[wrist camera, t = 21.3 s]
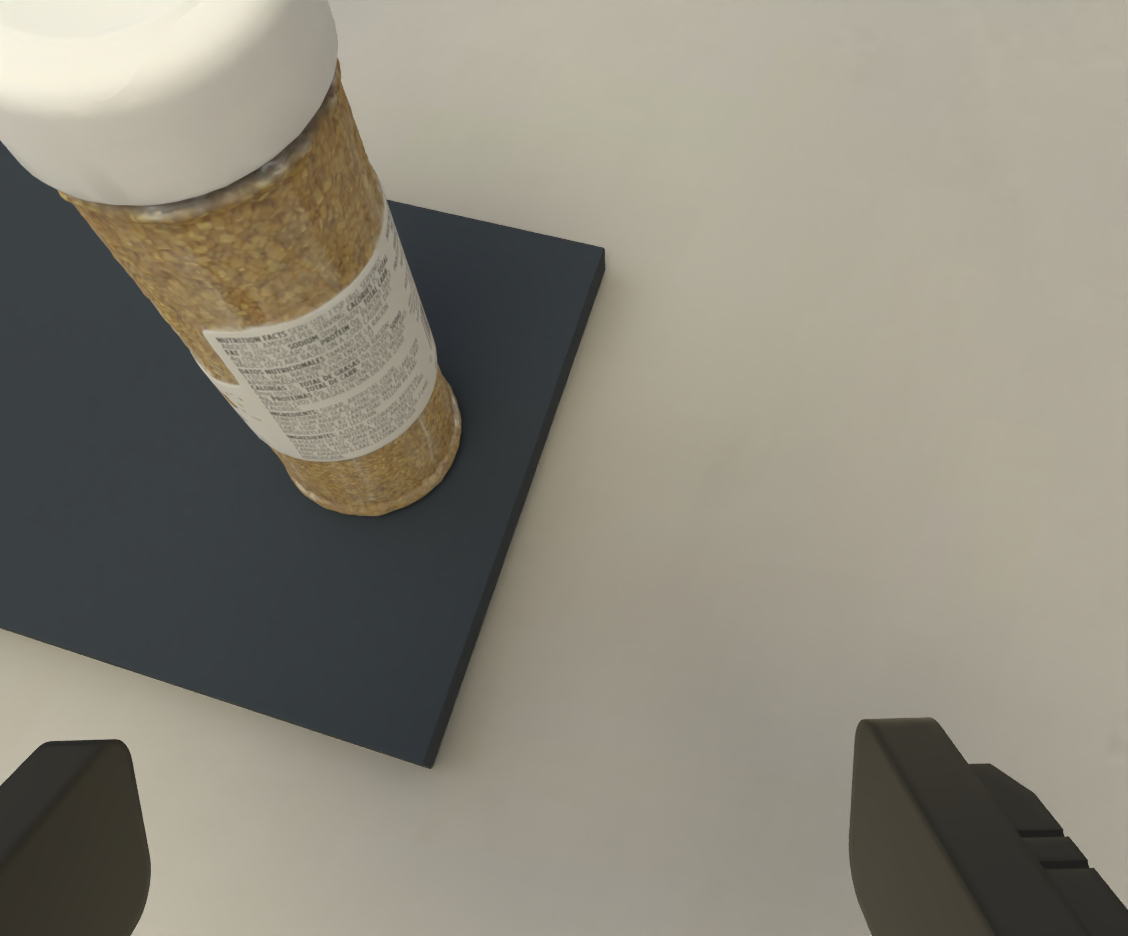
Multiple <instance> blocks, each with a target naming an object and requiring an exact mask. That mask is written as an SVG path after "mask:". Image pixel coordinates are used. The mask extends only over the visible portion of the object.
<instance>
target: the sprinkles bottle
mask: <svg viewBox="0 0 1128 936" xmlns="http://www.w3.org/2000/svg"><path fill="white" fill-rule="evenodd" d="M337 52H338V41H337V32H336V27H335V22H334V18H333V16H332V13H331V10H330V7H329V4H328V1H327V0H0V141H1V142H2V143H3V144H4V145H5V146H6V147H7V149H8V150H9V151H10V152H11V153H12V155H13V156H14V157H15V158H16V159H17V160H18V162H19V163H20V164H21V165H22V166H23V167H24V168H25V169H26V170H27V171H28V172H30V173H31V174H32V175H33V176H34V177H36V178H37V179H39V180H41V181H42V182H44V183H45V184H47V185H49V186H51V187H53V188H55V189H57V190H58V192H59V194H60V196H61V197H62V198H63V199H64V200H66V201H68V202H71V203H72V204H73V205H74V206H75V207H76V208H77V210H78V211H79V212H80V214H81V215H82V216H83V217H84V218H85V219H86V221H87V222H88V223H89V225H90V227H91V228H92V229H93V231H94V232H95V233H96V234H97V235H98V237H99V238H100V239H101V240H102V241H103V243H104V244H105V245H106V246H107V248H108V249H109V250H110V251H111V253H112V255H113V257H114V258H115V259H116V260H117V261H118V262H119V263H120V264H121V265H122V266H123V268H124V269H125V271H126V272H127V273H128V274H129V275H130V276H131V278H132V279H133V280H134V281H135V282H136V284H137V285H138V287H139V288H140V289H141V291H142V292H143V294H144V295H145V296H146V297H147V298H149V299H150V301H151V302H152V303H153V305H154V306H155V307H156V308H157V310H158V311H159V313H160V315H161V316H162V317H163V318H164V319H165V321H166V322H167V323H169V324H170V326H171V327H172V329H173V330H174V331H175V332H176V333H177V334H178V335H179V337H180V338H181V340H182V341H183V342H184V344H185V345H186V346H187V347H188V348H189V349H190V352H191V354H192V355H193V357H194V359H195V361H196V362H197V364H198V365H199V366H200V368H201V369H202V370H203V372H204V373H205V374H206V375H207V376H208V378H209V379H210V380H211V381H212V383H213V384H214V385H215V386H216V387H217V389H218V390H219V391H220V392H221V394H222V395H223V396H224V397H225V398H226V400H227V401H228V402H229V403H230V405H231V406H232V407H233V408H234V409H235V411H236V412H237V413H238V414H239V415H240V416H241V418H242V419H243V420H244V421H245V422H246V424H247V425H248V426H249V427H250V428H251V429H252V431H253V432H254V433H255V434H256V435H257V436H258V437H259V438H260V439H261V440H263V441H264V442H265V443H267V444H268V445H269V446H270V447H271V449H272V450H273V451H274V452H275V453H276V454H277V455H278V457H279V458H280V460H281V461H282V463H283V464H284V465H285V468H286V470H287V472H288V474H289V475H290V477H291V479H292V481H293V482H294V483H295V485H296V486H297V488H298V489H299V490H300V491H301V492H302V493H303V494H304V495H305V496H306V497H308V498H309V499H311V500H312V501H314V502H315V503H317V504H318V505H320V506H322V507H324V508H326V509H329V510H333V511H336V512H339V513H342V514H348V515H357V516H380V515H384V514H387V513H390V512H392V511H394V510H398V509H401V508H404V507H406V506H408V505H410V504H412V503H414V502H416V501H418V500H419V499H421V498H422V497H424V496H425V495H426V494H428V493H429V492H430V491H431V490H432V489H433V488H434V487H435V486H437V485H438V484H439V483H440V482H442V480H443V478H444V476H445V475H446V473H447V472H448V470H449V469H450V467H451V465H452V463H453V461H454V458H455V455H456V453H457V450H458V448H459V443H460V436H461V420H462V419H461V414H460V411H459V408H458V403H457V399H456V397H455V395H454V394H453V391H452V389H451V387H450V385H449V383H448V382H447V381H446V379H445V378H444V376H443V375H442V373H441V370H440V368H439V365H438V363H437V353H436V346H435V342H434V338H433V336H432V333H431V330H430V327H429V324H428V321H427V318H426V315H425V311H424V308H423V305H422V303H421V300H420V297H419V294H418V291H417V288H416V285H415V283H414V280H413V277H412V274H411V271H410V268H409V266H408V263H407V260H406V257H405V254H404V251H403V248H402V245H401V242H400V239H399V236H398V233H397V230H396V227H395V224H394V221H393V218H392V215H391V212H390V209H389V206H388V203H387V200H386V197H385V194H384V191H383V188H382V185H381V183H380V180H379V178H378V175H377V174H376V172H375V170H374V169H373V167H372V165H371V164H370V163H369V160H368V157H367V155H366V153H365V149H364V146H363V142H362V140H361V137H360V135H359V131H358V129H357V126H356V123H355V120H354V118H353V115H352V111H351V108H350V105H349V102H348V100H347V97H346V95H345V92H344V89H343V86H342V83H341V71H340V63H339V60H338V57H337Z"/></svg>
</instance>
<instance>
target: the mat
mask: <svg viewBox="0 0 1128 936" xmlns="http://www.w3.org/2000/svg"><path fill="white" fill-rule="evenodd" d="M387 203H388V206H389V209H390V212H391V215H392V218H393V221H394V224H395V227H396V230H397V233H398V236H399V239H400V242H401V245H402V248H403V251H404V254H405V257H406V260H407V263H408V266H409V268H410V271H411V274H412V277H413V280H414V283H415V285H416V288H417V291H418V294H419V297H420V300H421V303H422V305H423V308H424V311H425V315H426V318H427V321H428V324H429V327H430V330H431V333H432V336H433V338H434V342H435V346H436V353H437V363H438V365H439V368H440V370H441V373H442V375H443V376H444V378H445V379H446V381H447V382H448V383H449V385H450V387H451V389H452V391H453V394H454V395H455V397H456V399H457V403H458V408H459V411H460V414H461V419H462V420H461V436H460V443H459V448H458V450H457V453H456V455H455V458H454V461H453V463H452V465H451V467H450V469H449V470H448V472H447V473H446V475H445V476H444V478H443V480H442V482H440V483H439V484H438V485H437V486H435V487H434V488H433V489H432V490H431V491H430V492H429V493H428V494H426V495H425V496H424V497H422V498H421V499H419V500H418V501H416V502H414V503H412V504H410V505H408V506H406V507H404V508H401V509H398V510H394V511H392V512H390V513H387V514H384V515H380V516H357V515H348V514H342V513H339V512H336V511H333V510H329V509H326V508H324V507H322V506H320V505H318V504H317V503H315V502H314V501H312V500H311V499H309V498H308V497H306V496H305V495H304V494H303V493H302V492H301V491H300V490H299V489H298V488H297V486H296V485H295V483H294V482H293V481H292V479H291V477H290V475H289V474H288V472H287V470H286V468H285V465H284V464H283V463H282V461H281V460H280V458H279V457H278V455H277V454H276V453H275V452H274V451H273V450H272V449H271V447H270V446H269V445H268V444H267V443H265V442H264V441H263V440H261V439H260V438H259V437H258V436H257V435H256V434H255V433H254V432H253V431H252V429H251V428H250V427H249V426H248V425H247V424H246V422H245V421H244V420H243V419H242V418H241V416H240V415H239V414H238V413H237V412H236V411H235V409H234V408H233V407H232V406H231V405H230V403H229V402H228V401H227V400H226V398H225V397H224V396H223V395H222V394H221V392H220V391H219V390H218V389H217V387H216V386H215V385H214V384H213V383H212V381H211V380H210V379H209V378H208V376H207V375H206V374H205V373H204V372H203V370H202V369H201V368H200V366H199V365H198V364H197V362H196V361H195V359H194V357H193V355H192V354H191V352H190V349H189V348H188V347H187V346H186V345H185V344H184V342H183V341H182V340H181V338H180V337H179V335H178V334H177V333H176V332H175V331H174V330H173V329H172V327H171V326H170V324H169V323H167V322H166V321H165V319H164V318H163V317H162V316H161V315H160V313H159V311H158V310H157V308H156V307H155V306H154V305H153V303H152V302H151V301H150V299H149V298H147V297H146V296H145V295H144V294H143V292H142V291H141V289H140V288H139V287H138V285H137V284H136V282H135V281H134V280H133V279H132V278H131V276H130V275H129V274H128V273H127V272H126V271H125V269H124V268H123V266H122V265H121V264H120V263H119V262H118V261H117V260H116V259H115V258H114V257H113V255H112V253H111V251H110V250H109V249H108V248H107V246H106V245H105V244H104V243H103V241H102V240H101V239H100V238H99V237H98V235H97V234H96V233H95V232H94V231H93V229H92V228H91V227H90V225H89V223H88V222H87V221H86V219H85V218H84V217H83V216H82V215H81V214H80V212H79V211H78V210H77V208H76V207H75V206H74V205H73V204H72V203H71V202H68V201H66V200H64V199H63V198H62V197H61V196H60V194H59V192H58V190H57V189H55V188H53V187H51V186H49V185H47V184H45V183H44V182H42V181H41V180H39V179H37V178H36V177H34V176H33V175H32V174H31V173H30V172H28V171H27V170H26V169H25V168H24V167H23V166H22V165H21V164H20V163H19V162H18V160H17V159H16V158H15V157H14V156H13V155H12V153H11V152H10V151H9V150H8V149H7V147H6V146H5V145H4V144H3V143H2V142H1V141H0V628H2V629H5V630H8V631H11V632H14V633H17V634H20V635H23V636H26V637H29V638H32V639H35V640H38V641H41V642H44V643H47V644H51V645H54V646H57V647H60V648H63V649H66V650H69V651H72V652H75V653H78V654H81V655H84V656H87V657H90V658H93V659H96V660H99V661H102V662H105V663H109V664H112V665H115V666H118V667H121V668H124V669H127V670H130V671H133V672H136V673H139V674H142V675H145V676H148V677H151V678H154V679H157V680H160V681H163V682H166V683H170V684H173V685H176V686H179V687H182V688H185V689H188V690H191V691H194V692H197V693H200V694H203V695H206V696H209V697H212V698H215V699H218V700H221V701H224V702H228V703H231V704H234V705H237V706H240V707H243V708H246V709H249V710H252V711H255V712H258V713H261V714H264V715H267V716H270V717H273V718H276V719H279V720H282V721H285V722H289V723H292V724H295V725H298V726H301V727H304V728H307V729H310V730H313V731H316V732H319V733H322V734H325V735H328V736H331V737H334V738H337V739H340V740H343V741H347V742H350V743H353V744H356V745H359V746H362V747H365V748H368V749H371V750H374V751H377V752H380V753H383V754H386V755H389V756H392V757H395V758H398V759H401V760H404V761H408V762H411V763H414V764H417V765H420V766H423V767H426V768H429V769H430V768H432V766H433V763H434V760H435V758H436V755H437V752H438V749H439V746H440V743H441V740H442V737H443V735H444V732H445V729H446V726H447V723H448V720H449V717H450V714H451V711H452V709H453V706H454V703H455V700H456V697H457V694H458V691H459V688H460V686H461V683H462V680H463V677H464V674H465V671H466V668H467V665H468V663H469V660H470V657H471V654H472V651H473V648H474V645H475V642H476V640H477V637H478V634H479V631H480V628H481V625H482V622H483V619H484V616H485V614H486V611H487V608H488V605H489V602H490V599H491V596H492V593H493V591H494V588H495V585H496V582H497V579H498V576H499V573H500V570H501V568H502V565H503V562H504V559H505V556H506V553H507V550H508V547H509V544H510V542H511V539H512V536H513V533H514V530H515V527H516V524H517V521H518V519H519V516H520V513H521V510H522V507H523V504H524V501H525V498H526V496H527V493H528V490H529V487H530V484H531V481H532V478H533V475H534V473H535V470H536V467H537V464H538V461H539V458H540V455H541V452H542V449H543V447H544V444H545V441H546V438H547V435H548V432H549V429H550V426H551V424H552V421H553V418H554V415H555V412H556V409H557V406H558V403H559V401H560V398H561V395H562V392H563V389H564V386H565V383H566V380H567V378H568V375H569V372H570V369H571V366H572V363H573V360H574V357H575V354H576V352H577V349H578V346H579V343H580V340H581V337H582V334H583V331H584V329H585V326H586V323H587V320H588V317H589V314H590V311H591V308H592V306H593V303H594V300H595V297H596V294H597V291H598V288H599V285H600V282H601V280H602V277H603V274H604V271H605V250H604V248H602V247H597V246H593V245H588V244H584V243H579V242H575V241H570V240H566V239H561V238H557V237H552V236H548V235H543V234H539V233H534V232H530V231H525V230H521V229H516V228H512V227H507V226H503V225H498V224H493V223H489V222H484V221H480V220H475V219H471V218H466V217H462V216H457V215H453V214H448V213H444V212H439V211H435V210H430V209H426V208H421V207H417V206H412V205H408V204H403V203H399V202H394V201H390V200H387Z"/></svg>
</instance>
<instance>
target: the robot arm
mask: <svg viewBox="0 0 1128 936" xmlns="http://www.w3.org/2000/svg"><path fill="white" fill-rule="evenodd" d="M849 858H850V867H851V874H852V879H853V884H854V889H855V893H856V896H857V899H858V902H859V905H860V908H861V910H862V912H863V915H864V917H865V919H866V922H867V924H868V927H869V929H870V931H871V934H872V936H1128V910H1127V909H1126V907H1125V906H1124V905H1123V904H1122V902H1121V901H1120V900H1119V899H1118V897H1117V896H1116V895H1115V894H1114V892H1113V891H1112V890H1111V889H1110V887H1109V886H1108V885H1107V884H1106V882H1105V881H1104V880H1103V879H1102V877H1101V876H1100V875H1099V874H1098V872H1097V871H1096V870H1095V869H1094V868H1089V866H1088V860H1087V859H1086V857H1085V856H1084V855H1083V854H1082V852H1081V851H1080V850H1079V849H1078V847H1077V846H1076V845H1075V844H1074V842H1073V841H1072V840H1071V839H1070V837H1065V836H1064V834H1063V829H1062V827H1061V826H1060V825H1059V824H1058V822H1057V821H1056V820H1055V819H1054V817H1053V816H1052V815H1051V814H1050V812H1049V811H1048V810H1047V809H1046V807H1045V806H1044V805H1043V804H1042V802H1041V801H1040V800H1039V799H1038V797H1037V796H1036V795H1035V794H1034V793H1033V792H1032V791H1030V790H1029V789H1027V788H1026V787H1024V786H1023V785H1021V784H1020V783H1018V782H1017V781H1015V780H1014V779H1012V778H1011V777H1009V776H1008V775H1006V774H1005V773H1003V772H1002V771H1000V770H999V769H997V768H996V767H994V766H993V765H991V764H968V763H967V762H966V760H965V759H964V758H963V756H962V755H961V753H960V752H959V751H958V749H957V748H956V747H955V745H954V744H953V742H952V741H951V740H950V738H949V737H948V736H947V734H946V733H945V731H944V730H943V729H942V727H941V726H940V725H939V723H938V722H937V721H936V720H935V719H933V718H930V717H925V718H891V719H863V720H861V721H860V722H859V724H858V726H857V729H856V735H855V745H854V762H853V779H852V796H851V813H850V830H849ZM150 877H151V862H150V854H149V849H148V844H147V838H146V833H145V827H144V822H143V817H142V811H141V806H140V800H139V795H138V789H137V784H136V779H135V773H134V768H133V762H132V758H131V754H130V752H129V749H128V748H127V746H126V745H125V744H124V743H123V742H122V741H120V740H116V739H111V740H77V741H50V742H46V743H44V744H42V745H41V746H39V747H38V748H37V749H36V750H35V751H34V752H33V753H32V754H31V755H30V756H29V757H28V758H27V759H26V760H25V761H24V762H23V763H22V764H21V765H20V766H19V767H18V768H17V769H16V771H15V772H14V773H13V774H12V775H11V776H10V777H9V778H8V779H7V780H6V781H5V782H4V783H3V784H2V785H1V786H0V936H130V935H131V934H132V932H133V930H134V929H135V927H136V925H137V923H138V922H139V920H140V918H141V915H142V913H143V910H144V907H145V904H146V901H147V897H148V892H149V886H150Z"/></svg>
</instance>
